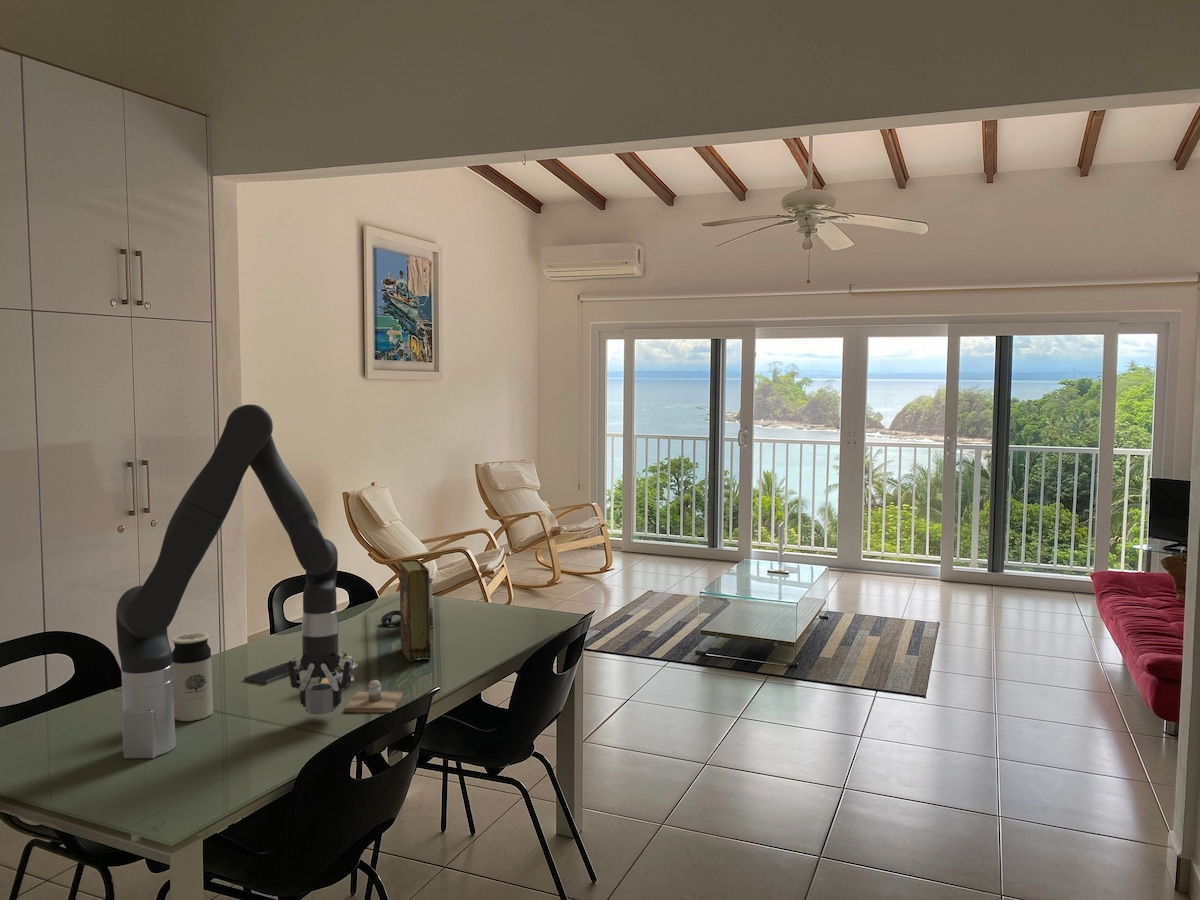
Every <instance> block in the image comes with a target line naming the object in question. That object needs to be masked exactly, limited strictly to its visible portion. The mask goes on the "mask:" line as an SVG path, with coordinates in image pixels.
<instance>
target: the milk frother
mask: <svg viewBox="0 0 1200 900" xmlns="http://www.w3.org/2000/svg"><path fill="white" fill-rule="evenodd" d="M433 580H434V579H433V578H431V577H429V603H430V626H432V625H433V624H434V617H433V615H434V614H433ZM394 616H398V617H400V610H392V611H389V612H387V613H386V614H383V616H382V617H381V619H380V621H381V624H382V625H384V626H387V625H397V626H400V625H401V620H400V619H399V620H397V621H394V622H393V621H392V619H393V617H394ZM399 624H400V625H399Z"/></svg>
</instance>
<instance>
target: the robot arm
mask: <svg viewBox="0 0 1200 900" xmlns="http://www.w3.org/2000/svg"><path fill="white" fill-rule="evenodd" d="M273 425H274V424H273V419H272V417H271V415H270V413H268V411H267V410H266V409H265V408H263V407H262V406H260V405H257V404H252V403H251V404H244V405H243V404H242V405H241V406H238V407H236V408H235V409H233V410H232V411H231V412H230V414H229V415H228V417H227V420H226V423H225V426H224V428H223V432H222V433H221V436H220V438H219V440H218V442H217V445H216V446H215V449H214V451H213V453H212V454H211V456H210V458H209V460H208V461H207V462H206V464H205V465H204V467H203V468H202V469H201V470H200V472H199V473H198V474H197V476H196V477H195V478H194V480H193V482H192V483H191V485H190V486H189V487H188V489H187V490H186V492H185V493H184V495H183V497H182V498H181V500H180V501H179V503H178V506H177V507H176V509H175V511H174V512H173V515H172V516H171V518H170V520H169V521H168V525H167V528H166V531H165V534H164V536H163V537H164V538H163V541H162V543H161V549H160V551H159V554H158V557H157V560H156V563H155V565H154V567H153V568H152V570H151V572H150V574H149V576H148V577H147V578H146V579H145V582H144V583H143V584H142V585H137V586H134V587H131V588H130V589H127V590H126V591H125V592H124V593H123V594H122V595H121V596H120V597H119V600H118V601H117V604H116V609H115V610H116V611H115V620H116V623H115V625H116V635H117V636H116V637H117V650H118V651H117V652H118V655H119V659H120V667H121V668H120V669H121V690H122V691H121V693H122V713H121V722H122V723H121V727H122V748H123V749H122V750H123V752H122V753H123V759H154V758H156V757H158V756H161V755H165V754H166V753H168V752H171V751H172V750H173V749H175V747H176V744H177V743H176V727H175V726H176V723H175V722H176V721H175V720H176V719H175V718H174V692H173V665H172V652H173V650H172V648H171V646H170V645H171V644H170V641H169V635H168V627H169V626H170V625H171V624H172V622H173V619H174V618H175V615H176V613H177V610H178V608H179V605H180V603H181V601H182V598H183V596H184V594H185V592H186V589H187V587H188V584H189V583H190V581H191V579H192V577H193V575H194V574H195V571H196V570H197V567H198V566H199V565H200V563H201V561H202V560H203V559H204V557H205V554H206V553H207V551H208V549H209V547H210V546H211V545H212V544H211V543H212V542H213V540H214V539H215V538H216V536H217V535H218V533H219V530H220V529H221V527H222V525H223V523H224V521H225V519H226V518H227V516H228V513H229V511H230V509H231V507H232V505H233V503H234V500H235V498H236V496H237V493H238V490H239V487H240V486H241V483H242V479H243V478H244V476H245V474H246V472H247V470H248V469H249V467H251V469H252V471H253V473H254V474H255V476H256V477H257V479H258V481H259V483H260V484H261V486H262V489H263V491H264V492H265V494H266V496H267V498H268V500H269V502H270V505H271V507H272V509H273V510H274V512H275V514H276V516H277V518H278V520H279V521H280V523H281V525H282V526H283V528H284V530H285V532H286V533H287V535H288V537H289V540H290V543H291V545H292V548H293V551H294V554H295V556H296V558H297V560H298V562H299V564H300V566H301V567H302V568H303V570H304V571H305V585H304V587H303V592H302V621H301V637H302V640H301V643H302V644H301V645H302V647H301V648H302V649H301V650H302V656H301V658H296V657H293V658H292V659H290V660H289V661H288V662H287V663H288V668H289V674H290V676H289V680H290V686H291V687H292V688H293V689H295V688H296V689H298V690H299V695H300V697H299V698H300V699H299V701H300V705H302V708H305V689H306V688H307V687H308V686H309V685H310V683H311V681H312V680H313V678H319V677H322V678H327V679H328V681H329V683H331V685H332V687H333V689H334V691H333V708H336V707H337V708H338V706H339V705H340V704H341V702H342V690H341V689H343V688H344V689H346V688H347V687H348V686H350V684H351V681H350V680H351V673H353V670H352V665H353V663H354V660H353V658H352V659H348V660H345V659H340V657H339V654H338V649H339V618H338V611H337V605H338V604H337V588H336V587H337V585H336V584H337V576H338V575H337V574H338V565H339V563H338V561H339V559H338V558H339V557H338V549H337V547H336V545H335V544H334V542H332V541H331V540H329V539H328V538H327V539H326V538H325V537H324V535H323V533H322V532H321V530H320V527H319V521H318V517H317V515H316V513H315V511H314V509H313V507H312V505H311V504H310V502H309V499H308V498H307V496H306V495H305V493H304V491H303V490H302V488H301V486H300V485H299V484H298V482H297V481H296V480H295V478H294V477H293V475H292V474H291V473H290V471H289V470H288V468H287V466H286V465H285V463H284V461H283V460H282V458H281V456H280V454H279V452H278V449H277V448H276V447H277V446H276V445H275V441H274V439H273V436H272V433H273V429H274V426H273ZM300 664H302V666H303V667H304V668H305V674H304V676H303V678H302V680H301V674H300V673H299V669H298V668H300ZM339 664H340V665H341V669H342V670H343V678H342V682H341V681H340V679H339V675H338V673H337V671H336V667H337V666H338V665H339ZM344 689H343V690H344ZM337 708H336V709H337Z"/></svg>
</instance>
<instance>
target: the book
mask: <svg viewBox="0 0 1200 900" xmlns="http://www.w3.org/2000/svg"><path fill="white" fill-rule="evenodd" d="M398 565H399V568H398V569H399V606H400V607H399V608H400V609H399V611H400V616H399V617H400V618H399V620H401V624H400V648H401V647H402V649H403V651H404V653H405V654H406V656H407V657H408V659H409V661H412V660H415V659H418V658H431V655H432V654H431V653H432V652H431V650H432V649H431V628H430V603H429V578H430V571H429V568H428V567H427V566H426V565H425V564H424V563H423V562H422V561H421V560H419V559H402V560H399V561H398ZM402 649H401V650H402ZM403 651H402V652H403ZM404 653H403V654H404ZM405 654H404V655H405ZM406 656H405V657H406ZM408 659H407V660H408ZM409 661H408V662H409Z"/></svg>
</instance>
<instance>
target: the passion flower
mask: <svg viewBox="0 0 1200 900" xmlns="http://www.w3.org/2000/svg"><path fill="white" fill-rule="evenodd" d="M338 654H339V657H340V659H345V660H348V659H352V660H353V657H352V656H351V655H348V654H347V653H346V652H343V649H342V647H340V648H339V647H338ZM358 665H359V664H358V663H355V662H353V665H352V673H351V680H350V682H354V681H355V678H354V672H355V669H357V667H358ZM336 671H337V673H338V675H339V679H340V681H341V682H342V678H343V670H342V669H341V665H340V664H339V665H338V666H337V667H336ZM353 671H354V672H353ZM324 679H325V678H322V677H318V683H320V682H321V681H322V680H324ZM344 689H345V688H343V689H341V691H343V690H344Z"/></svg>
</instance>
